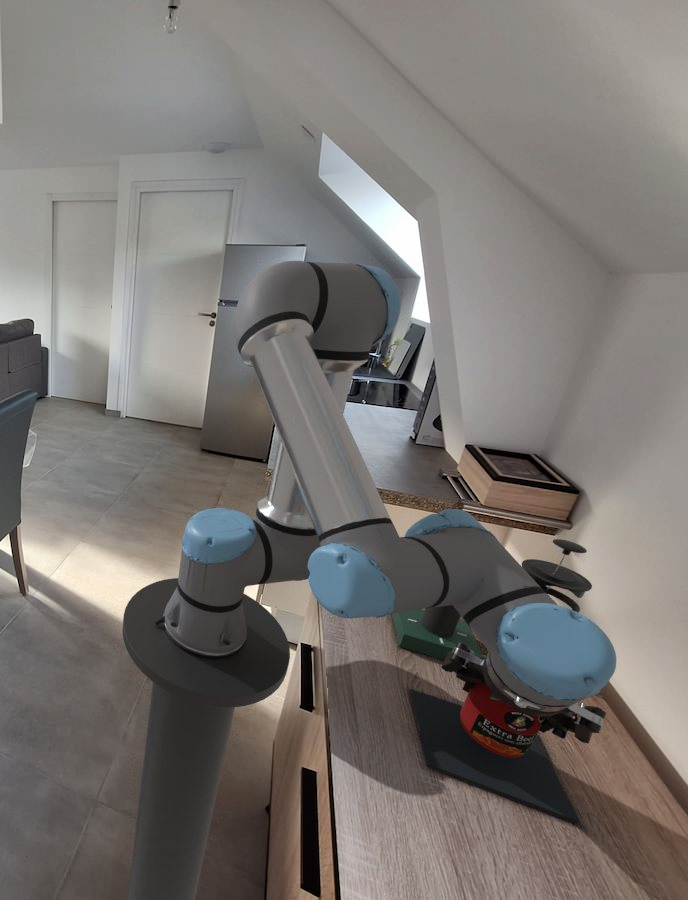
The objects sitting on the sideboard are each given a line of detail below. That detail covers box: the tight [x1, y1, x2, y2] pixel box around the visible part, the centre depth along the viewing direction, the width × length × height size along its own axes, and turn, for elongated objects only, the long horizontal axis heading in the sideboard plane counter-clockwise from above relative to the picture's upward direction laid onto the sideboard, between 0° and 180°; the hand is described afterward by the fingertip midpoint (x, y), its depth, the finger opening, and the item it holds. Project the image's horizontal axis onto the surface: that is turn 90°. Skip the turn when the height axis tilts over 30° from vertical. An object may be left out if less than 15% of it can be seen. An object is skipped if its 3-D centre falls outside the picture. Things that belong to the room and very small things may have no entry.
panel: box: [391, 609, 484, 661], centre depth 86 cm, size 12×10×3 cm
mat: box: [409, 688, 580, 825], centre depth 66 cm, size 16×14×1 cm
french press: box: [520, 538, 593, 613], centre depth 82 cm, size 12×9×23 cm
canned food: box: [460, 683, 546, 758], centre depth 63 cm, size 8×8×11 cm
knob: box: [421, 605, 462, 637], centre depth 84 cm, size 5×5×9 cm
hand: (504, 701), depth 66 cm, fingers closed on canned food, 8 cm apart
